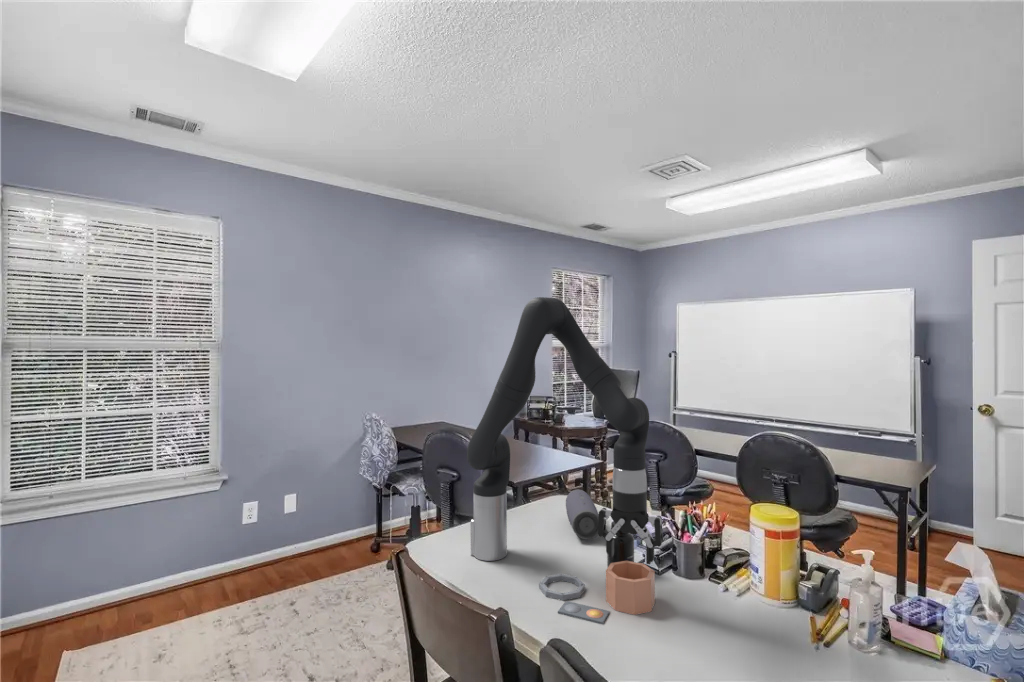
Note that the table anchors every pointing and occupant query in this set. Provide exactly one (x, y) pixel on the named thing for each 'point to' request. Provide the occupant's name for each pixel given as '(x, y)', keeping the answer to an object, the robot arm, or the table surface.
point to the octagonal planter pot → (630, 587)
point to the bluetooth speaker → (582, 514)
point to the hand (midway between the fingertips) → (630, 559)
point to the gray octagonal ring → (558, 594)
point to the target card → (584, 612)
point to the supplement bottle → (622, 547)
